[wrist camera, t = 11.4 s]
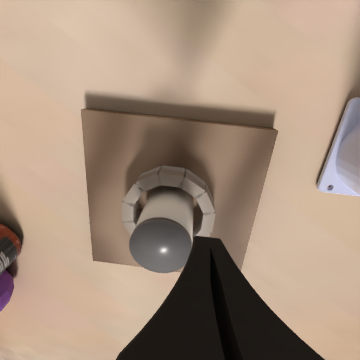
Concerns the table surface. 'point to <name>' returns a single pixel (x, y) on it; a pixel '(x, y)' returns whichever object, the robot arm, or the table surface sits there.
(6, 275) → the kendama
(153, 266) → the plug
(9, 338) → the table surface
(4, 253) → the supplement bottle
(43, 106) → the table surface
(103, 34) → the table surface
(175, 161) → the board with ring socket
